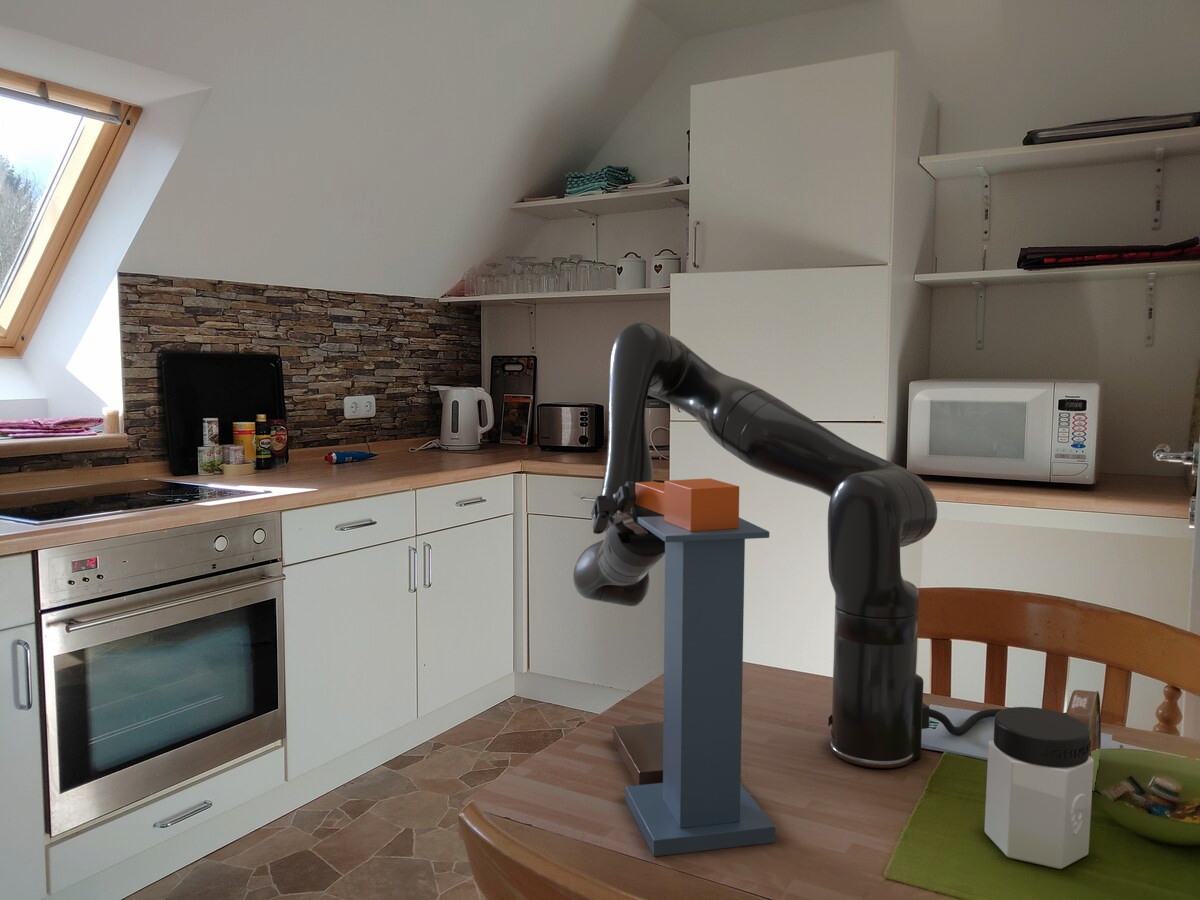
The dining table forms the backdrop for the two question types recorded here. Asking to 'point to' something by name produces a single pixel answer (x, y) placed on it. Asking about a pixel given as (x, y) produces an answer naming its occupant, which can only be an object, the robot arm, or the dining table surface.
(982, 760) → the dining table surface
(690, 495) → the orange toy mallet
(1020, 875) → the dining table surface
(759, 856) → the dining table surface
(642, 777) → the pad
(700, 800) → the stand
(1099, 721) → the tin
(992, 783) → the jar
